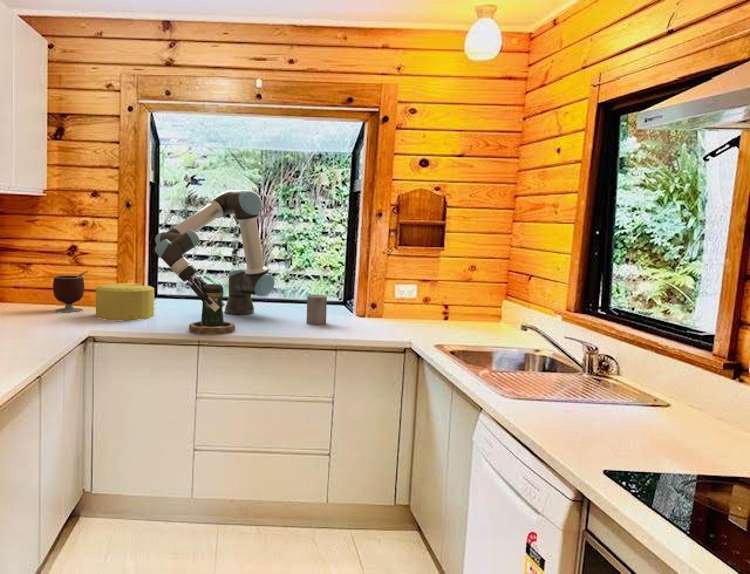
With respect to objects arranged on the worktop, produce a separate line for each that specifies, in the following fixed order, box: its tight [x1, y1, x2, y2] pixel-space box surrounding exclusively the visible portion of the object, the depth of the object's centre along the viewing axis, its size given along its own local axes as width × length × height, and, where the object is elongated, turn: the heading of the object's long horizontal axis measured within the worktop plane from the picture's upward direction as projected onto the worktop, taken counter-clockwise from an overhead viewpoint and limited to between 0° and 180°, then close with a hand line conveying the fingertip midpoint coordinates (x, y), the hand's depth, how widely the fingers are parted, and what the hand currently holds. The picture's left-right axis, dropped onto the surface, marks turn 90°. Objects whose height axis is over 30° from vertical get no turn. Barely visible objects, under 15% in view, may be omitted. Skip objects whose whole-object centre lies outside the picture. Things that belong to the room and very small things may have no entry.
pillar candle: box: [306, 293, 328, 326], centre depth 294 cm, size 10×10×15 cm
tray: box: [188, 320, 236, 335], centre depth 265 cm, size 19×19×3 cm
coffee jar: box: [200, 283, 225, 327], centre depth 264 cm, size 10×8×19 cm
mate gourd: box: [52, 270, 88, 314], centre depth 297 cm, size 16×14×20 cm
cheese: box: [95, 282, 155, 321], centre depth 289 cm, size 26×26×15 cm
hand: (220, 308), depth 264 cm, fingers closed on coffee jar, 8 cm apart
